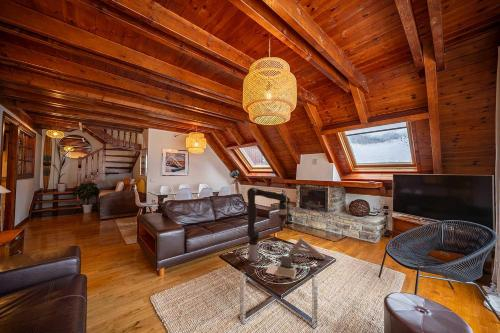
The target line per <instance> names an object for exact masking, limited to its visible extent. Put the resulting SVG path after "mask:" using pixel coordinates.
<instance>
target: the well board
mask: <svg viewBox="0 0 500 333" xmlns="http://www.w3.org/2000/svg"><path fill="white" fill-rule="evenodd" d="M297 271H298V270H297V268H296V265H293V264H292V269H290V268H285V267H281V262H279V263H278V265H274V264H273V265H272V264H269V265H268V267H267V269H266V271H265V273H266V274H272V275H277V276H282V277H285V278H291V280H295V278H296V275H297Z"/></svg>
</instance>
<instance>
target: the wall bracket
mask: <svg viewBox="0 0 500 333" xmlns="http://www.w3.org/2000/svg"><path fill="white" fill-rule="evenodd" d="M301 246H304V248H303V247H301ZM305 248H306V249H305ZM295 253H298V254H299V253H302V254H307V255H310V256H312V257H314V258H315V259H317V260H319V259H320V260H325V259H326V255H324V254H323V253H321V252H320V251H319V250H318V249H317V248H315V247H314V246H313V244H310V243H309V242H308V241H307V240H305V239H304V238H303V237H302V236H301V237H300V238H299V239H298V241H297V242H296V243H295V244H294V246H293V247H292V248H291V249H290V251H289V252H288V254H289V255H290V256H291V255H294V254H295Z"/></svg>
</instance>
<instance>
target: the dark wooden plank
mask: <svg viewBox="0 0 500 333" xmlns="http://www.w3.org/2000/svg"><path fill="white" fill-rule="evenodd" d="M280 258H281V259H280V260H281V262H280V263H281V267H285V268H290V269H292V265H293V263H292V262H293V261H292V259H293V257H292V256H288V255H287V256H286V255H281V256H280Z"/></svg>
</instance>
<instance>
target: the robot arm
mask: <svg viewBox="0 0 500 333" xmlns="http://www.w3.org/2000/svg"><path fill="white" fill-rule="evenodd" d="M246 193H247V194H246V196H247V236H248V238H249V240H248V254H247V255H248V261H250V262H253V263H254V262H256V261H258V259H259V250H258V249H259V244H258V243H259V239H260V238H259V236H260V235H259V234H260V233H259V229H258V228H257V227H256V226H255V224H256V221H257V216H258V210H257V206H256V196H257V197H263V198H266V199H269V200H270V199H271V200H277V201H279V204H278V209H279V210H278V218H279V219H280V220H279V227H280V228H279V230H280V231H281V232H283V231H284V230H283V229H285V228H286V227H285V226H286V219H287V194H286V193H285V192H281V193H277V192H275V191H270V190H263V189H259V188H257V187H249V188H248V189H247V191H246Z"/></svg>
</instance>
